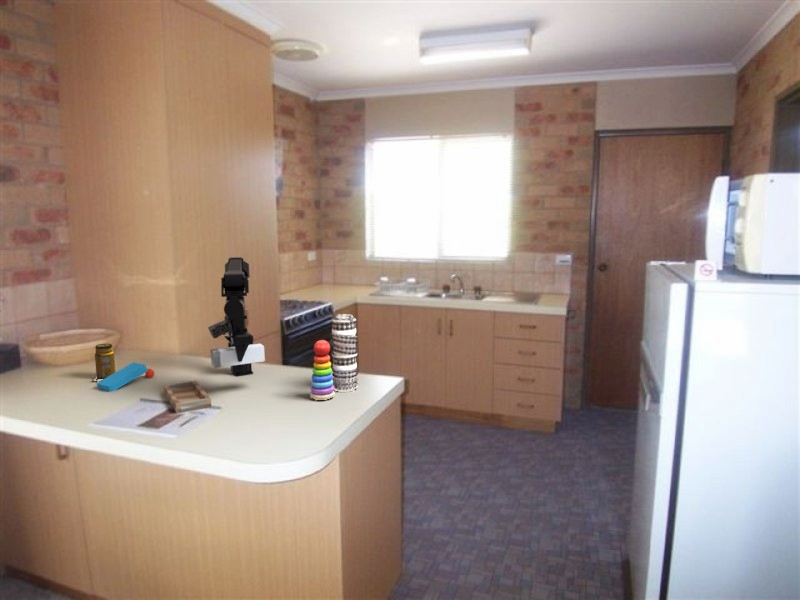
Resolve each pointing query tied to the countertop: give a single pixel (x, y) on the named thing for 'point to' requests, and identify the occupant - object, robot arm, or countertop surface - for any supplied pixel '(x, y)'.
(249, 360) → the white tall block
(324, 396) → the stacking toy
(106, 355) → the condiment
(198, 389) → the wooden tray
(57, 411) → the countertop surface
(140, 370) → the lever
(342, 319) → the decorative candle
